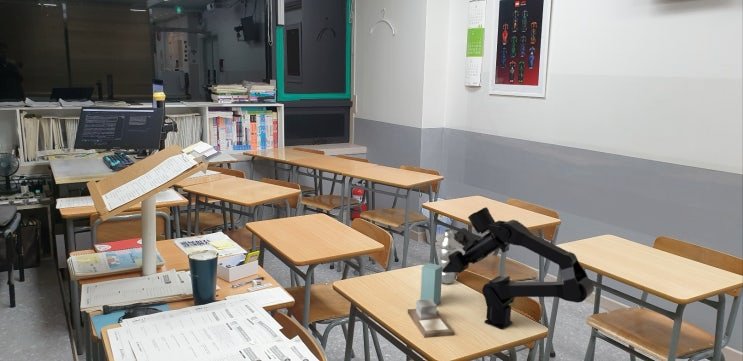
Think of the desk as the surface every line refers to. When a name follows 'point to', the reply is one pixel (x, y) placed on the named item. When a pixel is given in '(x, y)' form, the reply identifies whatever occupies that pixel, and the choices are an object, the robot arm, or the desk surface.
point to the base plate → (429, 319)
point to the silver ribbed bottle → (447, 254)
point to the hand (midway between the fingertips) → (450, 267)
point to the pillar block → (431, 282)
